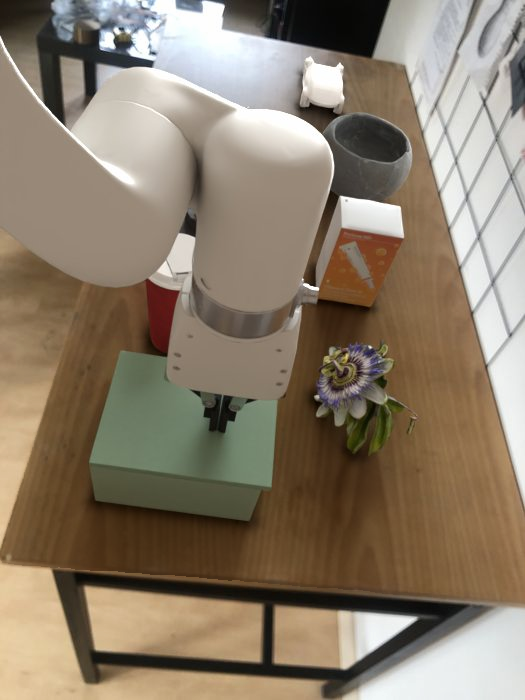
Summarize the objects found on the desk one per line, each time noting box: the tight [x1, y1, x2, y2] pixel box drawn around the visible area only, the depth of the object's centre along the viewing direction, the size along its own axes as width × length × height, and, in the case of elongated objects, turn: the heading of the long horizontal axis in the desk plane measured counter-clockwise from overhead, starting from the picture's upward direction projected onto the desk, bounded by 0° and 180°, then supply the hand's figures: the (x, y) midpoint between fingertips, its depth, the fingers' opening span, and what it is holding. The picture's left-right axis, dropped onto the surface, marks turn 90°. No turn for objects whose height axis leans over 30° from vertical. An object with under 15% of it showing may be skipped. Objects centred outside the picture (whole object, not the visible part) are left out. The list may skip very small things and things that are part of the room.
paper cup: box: [144, 233, 195, 355], centre depth 66 cm, size 8×8×14 cm
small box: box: [315, 196, 405, 308], centre depth 76 cm, size 8×6×13 cm
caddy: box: [88, 465, 262, 522], centre depth 59 cm, size 16×13×8 cm
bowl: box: [321, 112, 413, 202], centre depth 91 cm, size 15×15×10 cm
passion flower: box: [313, 338, 419, 457], centre depth 66 cm, size 11×11×12 cm
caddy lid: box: [88, 350, 279, 492], centre depth 56 cm, size 16×13×1 cm
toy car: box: [299, 56, 345, 115], centre depth 110 cm, size 18×8×4 cm, turn 175°
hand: (218, 418), depth 55 cm, fingers closed
